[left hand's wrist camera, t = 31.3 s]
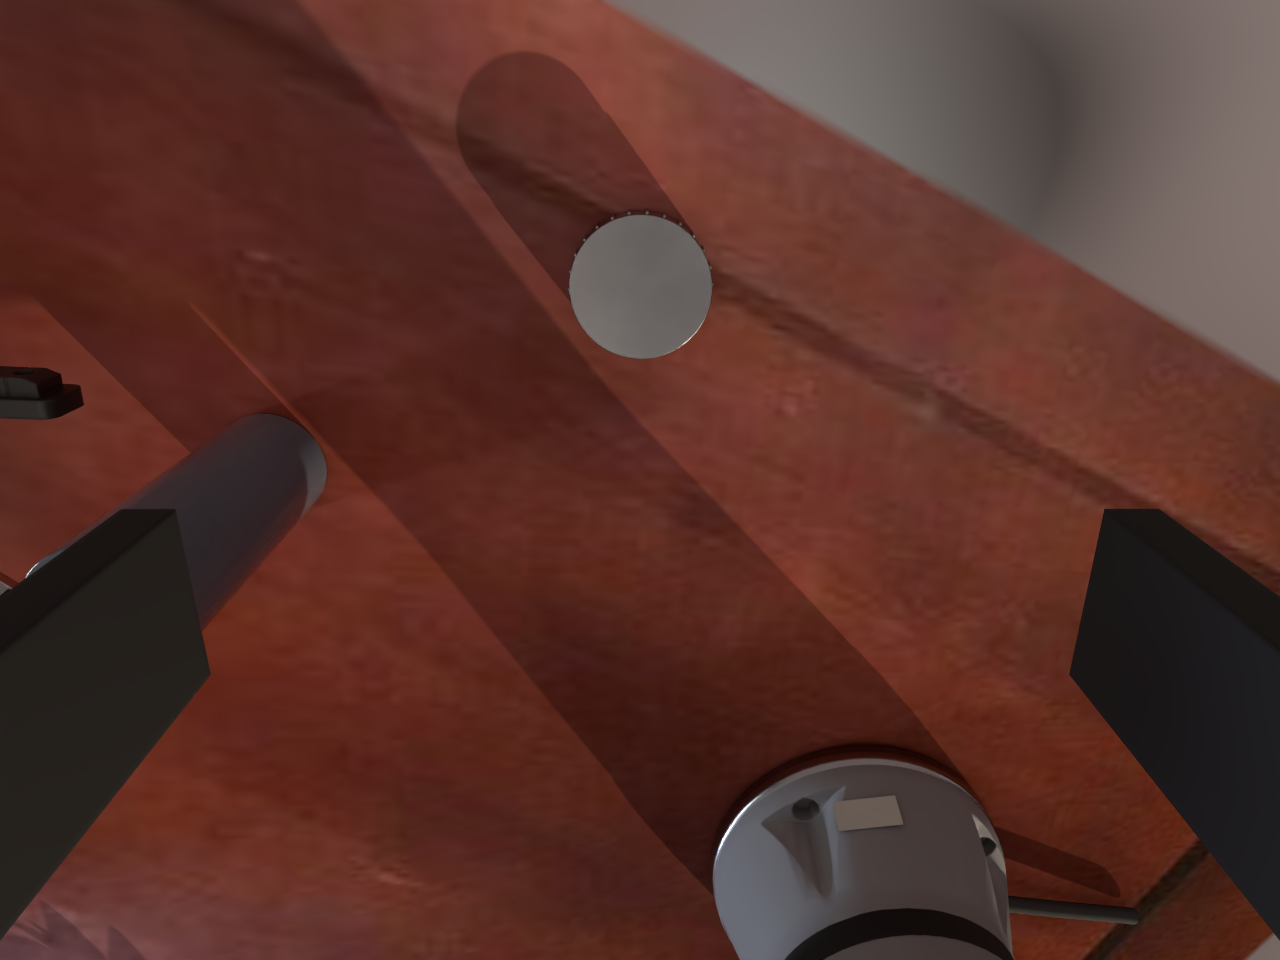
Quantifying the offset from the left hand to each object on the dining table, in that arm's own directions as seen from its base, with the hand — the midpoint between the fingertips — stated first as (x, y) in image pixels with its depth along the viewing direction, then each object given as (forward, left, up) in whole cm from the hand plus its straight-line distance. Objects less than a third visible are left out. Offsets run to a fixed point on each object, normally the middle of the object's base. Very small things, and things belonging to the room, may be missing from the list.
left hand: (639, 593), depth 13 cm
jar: (+14, +12, -26) cm, 32 cm away
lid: (0, 0, -24) cm, 24 cm away
